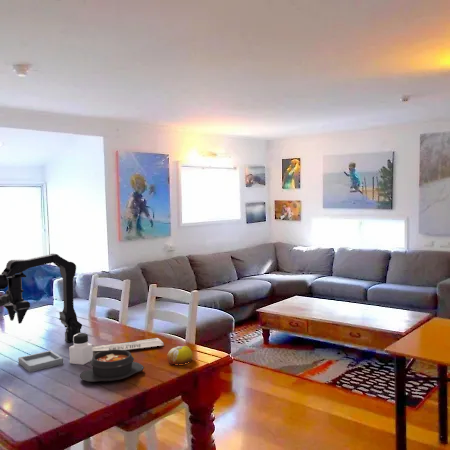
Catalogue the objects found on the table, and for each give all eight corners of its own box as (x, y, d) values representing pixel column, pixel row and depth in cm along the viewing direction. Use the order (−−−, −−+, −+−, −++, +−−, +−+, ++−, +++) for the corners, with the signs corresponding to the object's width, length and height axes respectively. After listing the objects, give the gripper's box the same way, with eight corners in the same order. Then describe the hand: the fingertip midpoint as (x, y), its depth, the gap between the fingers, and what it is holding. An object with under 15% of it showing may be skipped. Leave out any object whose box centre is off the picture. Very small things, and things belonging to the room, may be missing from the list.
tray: (50, 355, 212) (50, 350, 212) (63, 363, 201) (63, 358, 201) (18, 363, 203) (18, 357, 202) (29, 372, 192) (29, 366, 192)
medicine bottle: (93, 359, 206) (92, 332, 205) (83, 365, 199) (82, 337, 199) (79, 357, 208) (78, 331, 208) (69, 363, 202) (68, 335, 201)
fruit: (180, 354, 210) (184, 338, 208) (195, 366, 203) (199, 350, 201) (160, 360, 202) (163, 343, 200) (175, 373, 195) (178, 356, 193)
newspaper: (157, 341, 232) (157, 334, 232) (165, 348, 221) (164, 341, 221) (84, 351, 218) (83, 344, 218) (87, 360, 207) (87, 352, 207)
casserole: (88, 391, 172) (87, 369, 172) (74, 375, 188) (73, 355, 187) (151, 376, 186) (150, 355, 185) (133, 362, 201) (132, 343, 201)
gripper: (-12, 288, 215) (-11, 322, 215) (4, 292, 202) (5, 328, 202) (13, 285, 223) (14, 318, 223) (30, 288, 210) (31, 323, 210)
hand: (15, 321), depth 214 cm, fingers open, 9 cm apart
